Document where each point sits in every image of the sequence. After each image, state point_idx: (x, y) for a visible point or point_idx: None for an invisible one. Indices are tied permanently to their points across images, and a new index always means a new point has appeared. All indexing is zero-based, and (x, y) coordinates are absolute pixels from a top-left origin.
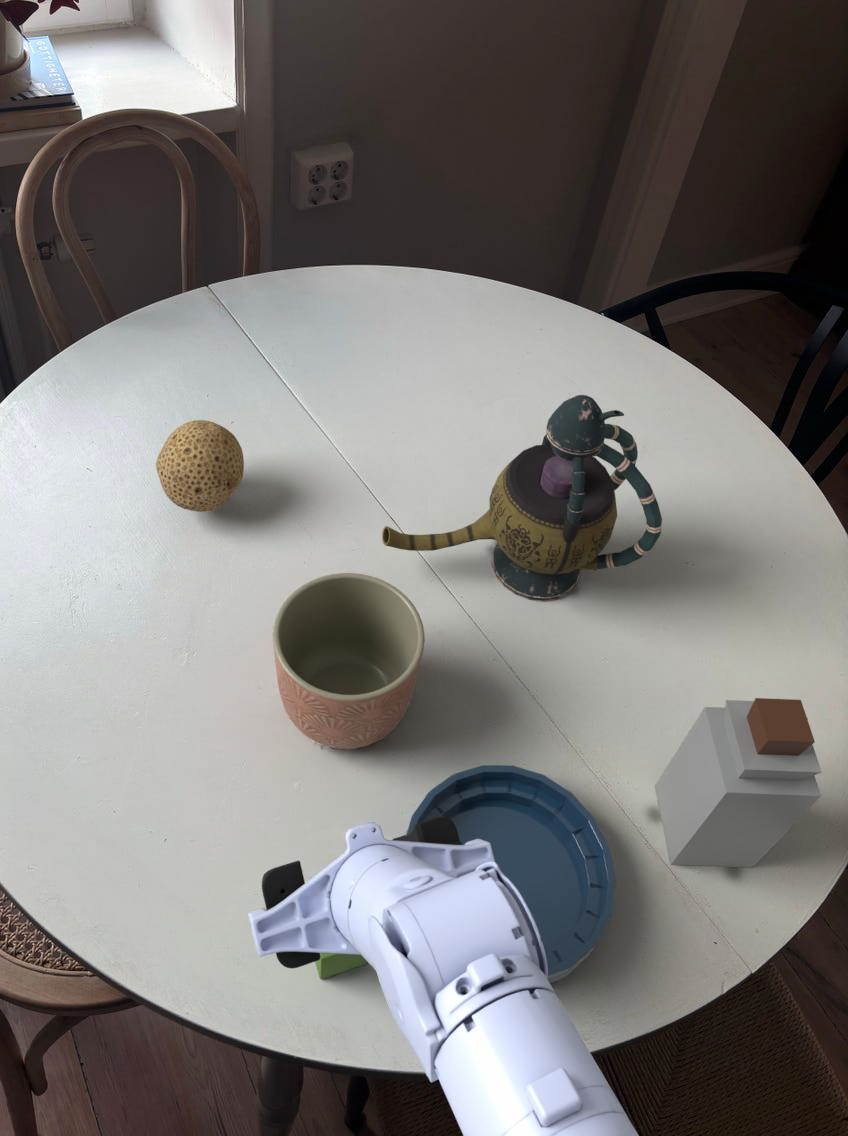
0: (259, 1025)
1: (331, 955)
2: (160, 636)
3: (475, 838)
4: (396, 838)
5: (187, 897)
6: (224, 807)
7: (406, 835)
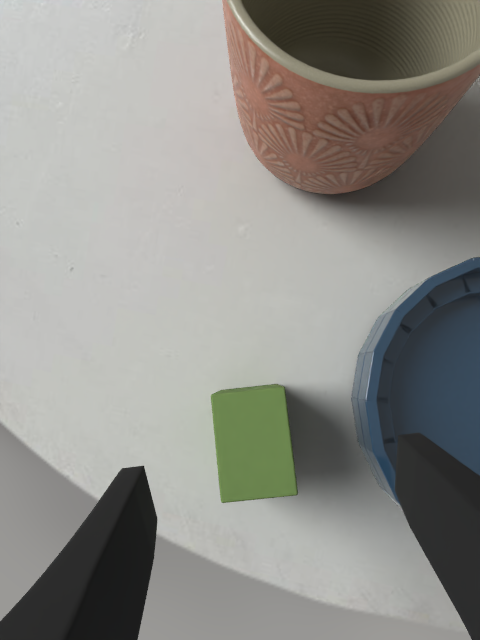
0: None
1: (237, 500)
2: (102, 6)
3: (467, 345)
4: (429, 466)
5: (87, 343)
6: (147, 242)
7: (476, 492)
